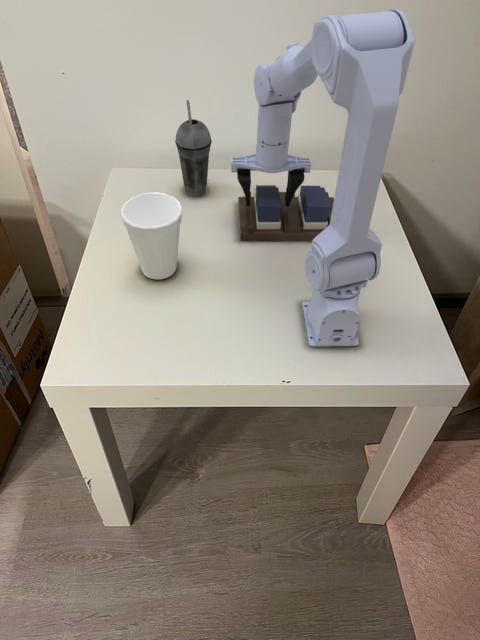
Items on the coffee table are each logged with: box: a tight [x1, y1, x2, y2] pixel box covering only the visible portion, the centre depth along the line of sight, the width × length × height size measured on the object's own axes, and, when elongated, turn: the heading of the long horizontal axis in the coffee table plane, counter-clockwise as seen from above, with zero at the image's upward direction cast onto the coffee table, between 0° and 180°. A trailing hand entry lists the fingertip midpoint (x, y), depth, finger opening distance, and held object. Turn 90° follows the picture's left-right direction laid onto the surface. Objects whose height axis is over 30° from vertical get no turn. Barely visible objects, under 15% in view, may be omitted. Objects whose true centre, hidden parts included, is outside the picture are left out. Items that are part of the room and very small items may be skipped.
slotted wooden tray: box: [237, 191, 335, 242], centre depth 97 cm, size 12×20×3 cm, turn 92°
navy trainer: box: [253, 184, 281, 229], centre depth 95 cm, size 10×5×5 cm, turn 2°
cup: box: [120, 191, 183, 280], centre depth 83 cm, size 10×10×13 cm
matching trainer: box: [297, 185, 330, 229], centre depth 96 cm, size 10×5×5 cm, turn 2°
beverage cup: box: [174, 99, 213, 198], centre depth 98 cm, size 7×7×20 cm
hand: (267, 203), depth 95 cm, fingers open, 7 cm apart
